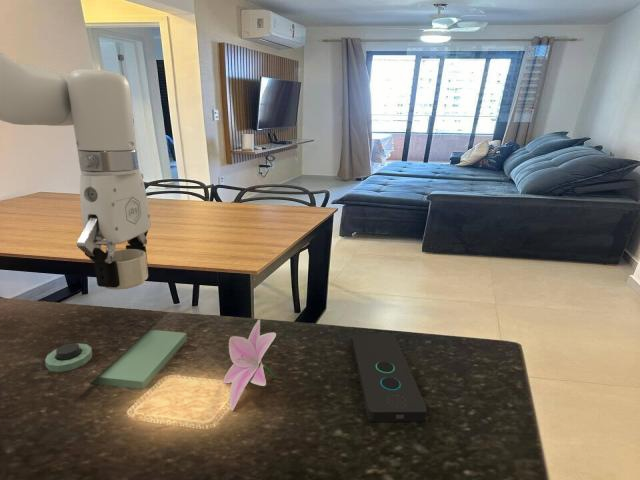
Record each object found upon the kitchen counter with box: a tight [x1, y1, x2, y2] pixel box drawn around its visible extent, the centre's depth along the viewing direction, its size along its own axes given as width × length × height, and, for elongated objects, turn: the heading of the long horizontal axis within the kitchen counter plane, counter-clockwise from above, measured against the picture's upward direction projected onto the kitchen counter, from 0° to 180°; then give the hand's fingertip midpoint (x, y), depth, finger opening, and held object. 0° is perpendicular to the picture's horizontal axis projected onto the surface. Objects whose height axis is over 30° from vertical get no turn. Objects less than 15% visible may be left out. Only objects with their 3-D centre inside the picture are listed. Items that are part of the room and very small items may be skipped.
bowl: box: [105, 248, 149, 291], centre depth 60 cm, size 7×7×4 cm
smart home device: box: [350, 333, 428, 423], centre depth 60 cm, size 8×2×20 cm
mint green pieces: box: [44, 329, 188, 390], centre depth 63 cm, size 16×14×3 cm
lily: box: [222, 318, 277, 412], centre depth 56 cm, size 12×12×10 cm
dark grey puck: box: [55, 342, 80, 361], centre depth 59 cm, size 3×3×1 cm
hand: (124, 276), depth 60 cm, fingers closed on bowl, 6 cm apart
